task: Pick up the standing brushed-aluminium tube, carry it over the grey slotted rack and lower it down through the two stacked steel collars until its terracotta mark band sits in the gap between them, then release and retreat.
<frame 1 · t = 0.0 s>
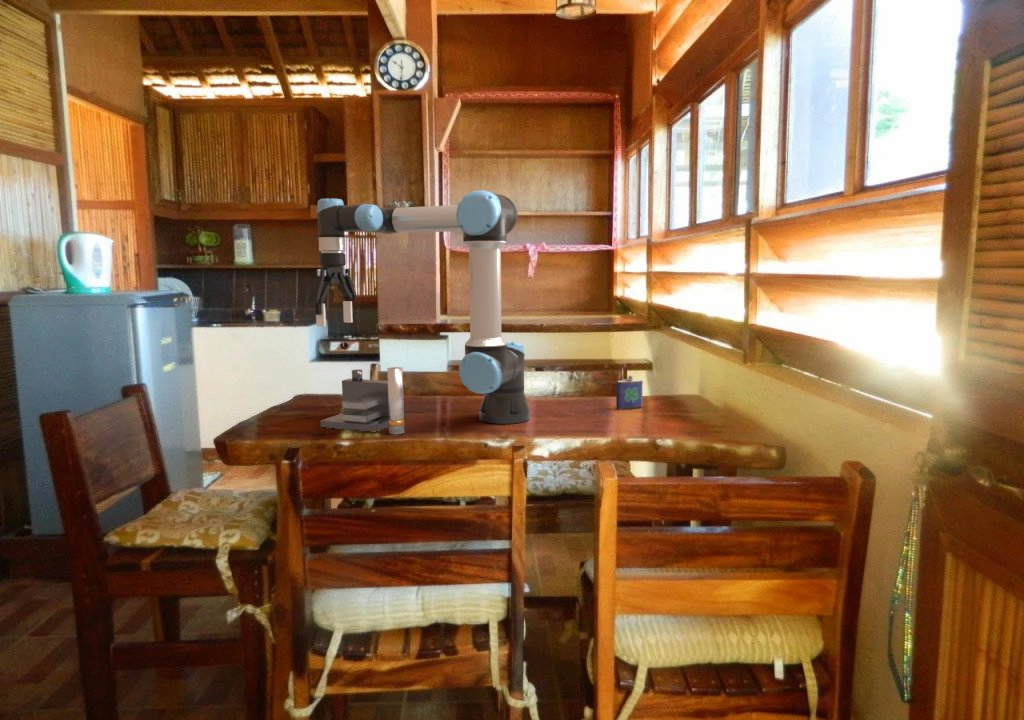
hand: (335, 324, 204), 28 cm above the table, fingers open, 13 cm apart
flask: (629, 409, 217), on the table
grey slotted rack: (361, 424, 197), on the table
tube: (396, 433, 186), on the table
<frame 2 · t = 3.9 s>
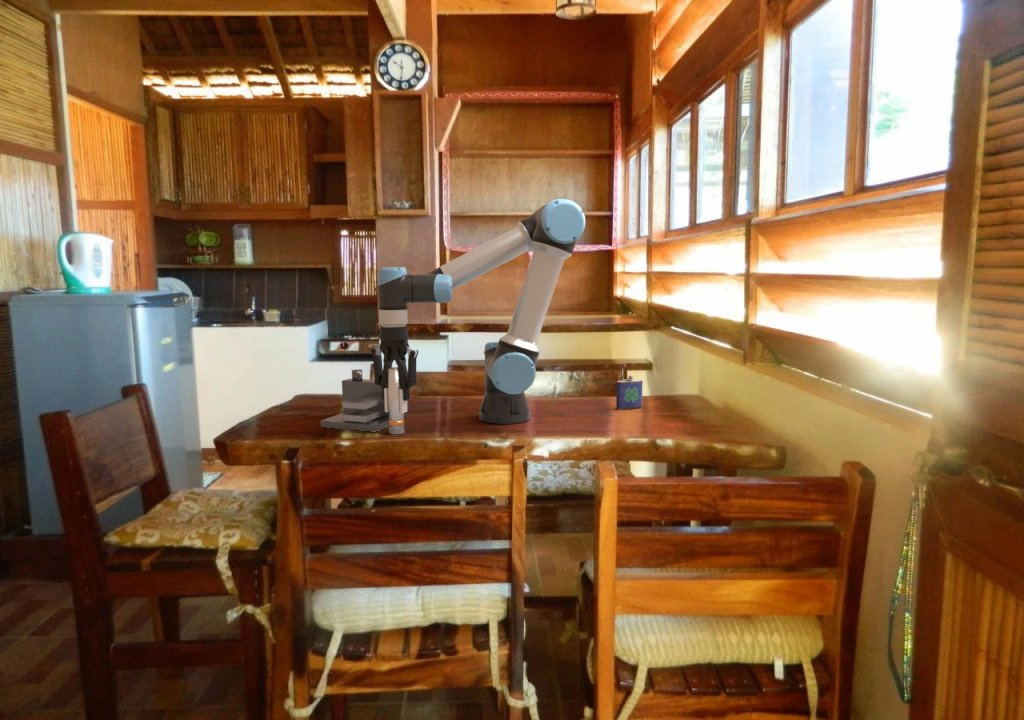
hand: (396, 411, 185), 6 cm above the table, fingers closed on tube, 4 cm apart
tube: (396, 433, 186), on the table, touching gripper
everything else where it was.
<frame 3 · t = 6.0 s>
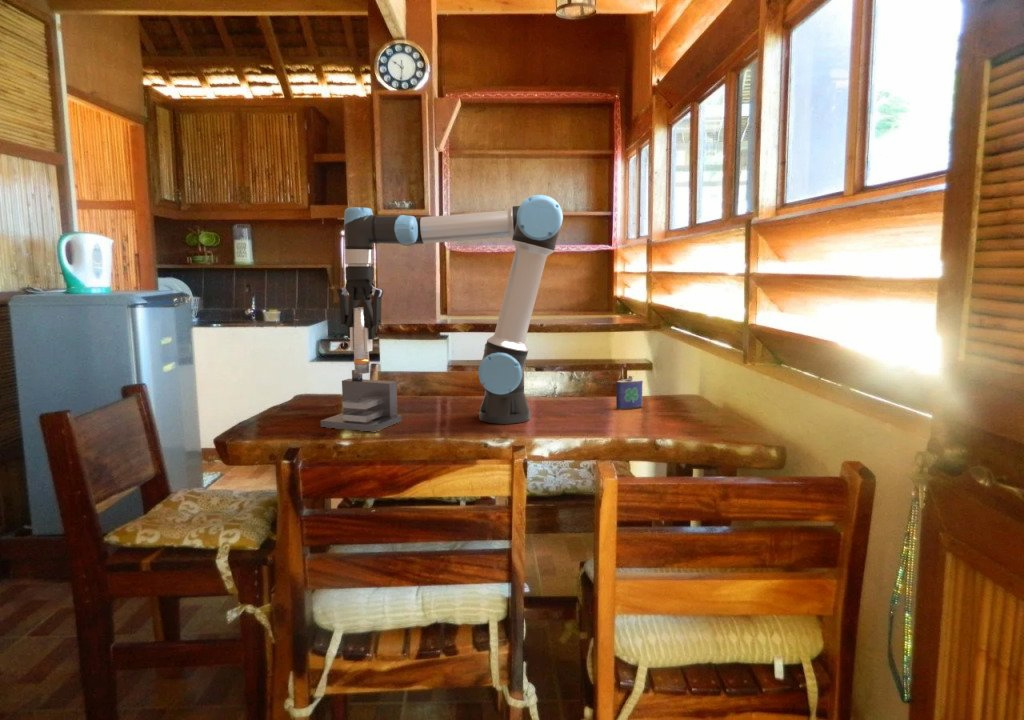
hand: (361, 350, 189), 22 cm above the table, fingers closed on tube, 4 cm apart
tube: (362, 372, 190), point 16 cm above the table, touching gripper
everything else where it was.
when the fingers open (10 cm above the table, at t = 8.2 s): tube drops 1 cm, resting on grey slotted rack.
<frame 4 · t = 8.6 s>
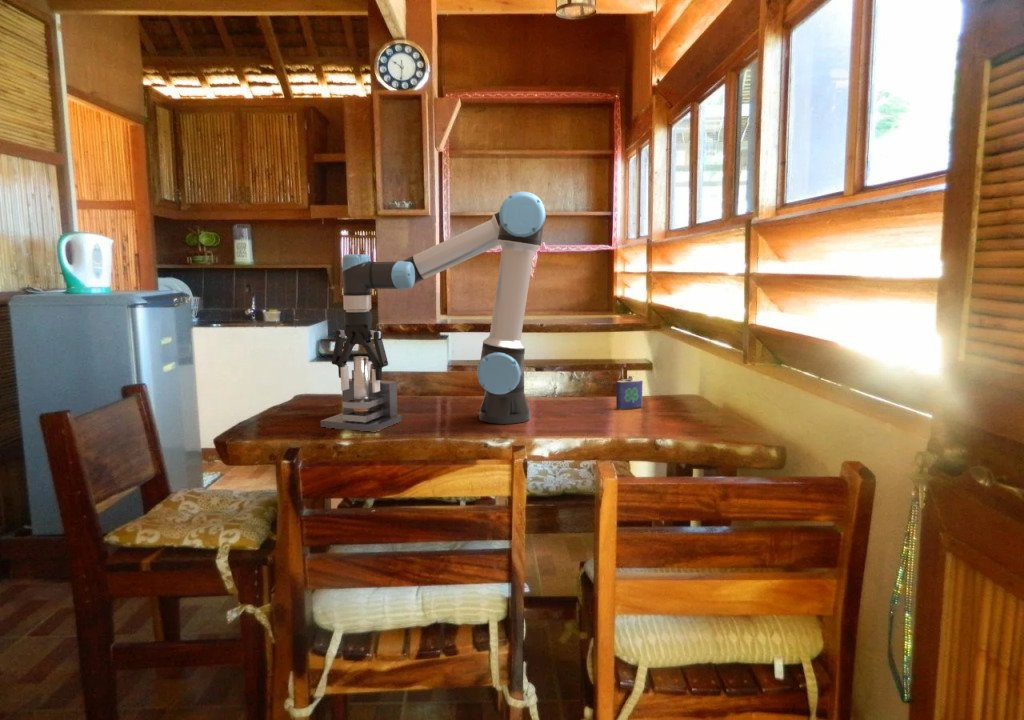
hand: (360, 390, 192), 11 cm above the table, fingers open, 9 cm apart
tube: (361, 420, 193), point 2 cm above the table, touching grey slotted rack
everything else where it was.
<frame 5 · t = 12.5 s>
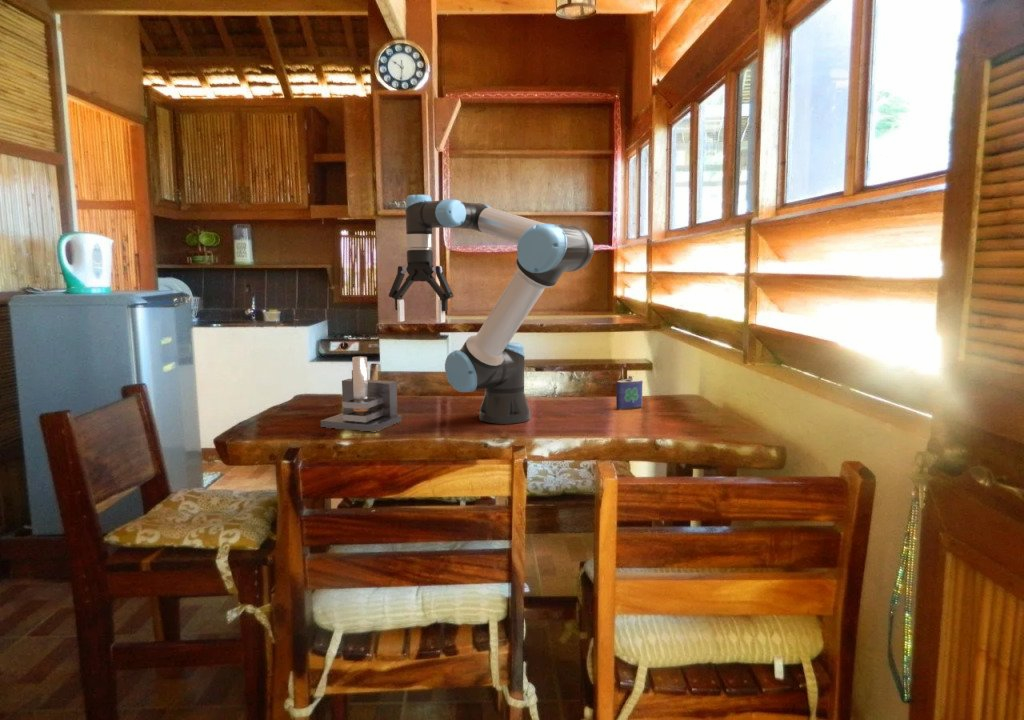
hand: (421, 322, 202), 29 cm above the table, fingers open, 13 cm apart
nothing on the table moved.
at the end: tube 0.0 cm from the target spot on the grey slotted rack, point 2.0 cm above the grey slotted rack's base; tube tilted 0°; the gripper is holding nothing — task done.
